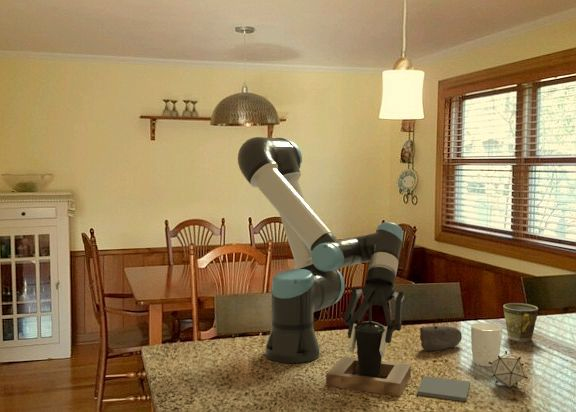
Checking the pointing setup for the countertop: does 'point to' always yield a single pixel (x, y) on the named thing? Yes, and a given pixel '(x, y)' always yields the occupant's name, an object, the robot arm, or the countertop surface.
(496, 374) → the game die
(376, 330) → the drinking cup
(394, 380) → the holder frame
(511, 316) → the ceramic cup
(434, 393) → the slate mat
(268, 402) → the countertop surface
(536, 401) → the countertop surface
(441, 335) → the perforated stone tool
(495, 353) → the white cup
